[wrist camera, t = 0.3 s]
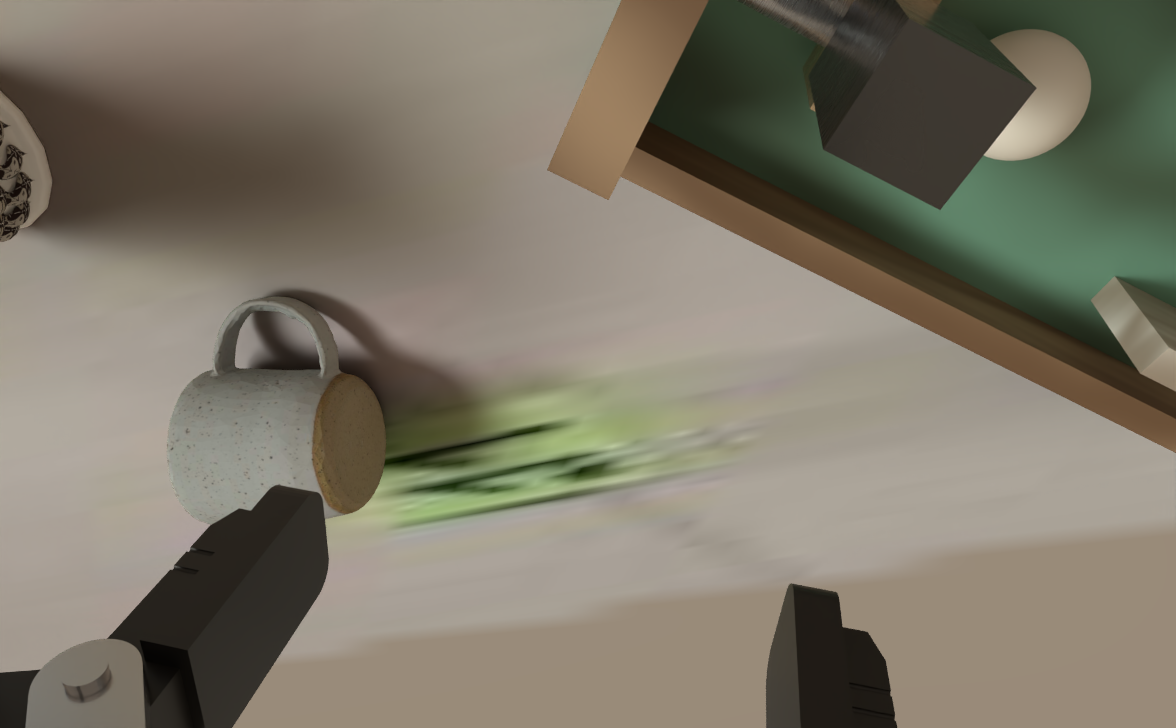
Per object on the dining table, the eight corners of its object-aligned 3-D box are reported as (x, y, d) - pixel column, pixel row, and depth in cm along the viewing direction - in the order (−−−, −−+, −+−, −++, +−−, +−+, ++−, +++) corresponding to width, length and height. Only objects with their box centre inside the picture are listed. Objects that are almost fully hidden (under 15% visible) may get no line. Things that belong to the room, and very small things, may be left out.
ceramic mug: (408, 454, 45) (351, 558, 38) (275, 455, 46) (199, 555, 40) (350, 282, 39) (272, 370, 33) (201, 291, 41) (100, 376, 35)
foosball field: (811, -397, 23) (839, -497, 15) (1576, 59, 26) (1917, 166, 18) (585, 108, 32) (532, 203, 25) (1169, 403, 35) (1284, 570, 28)
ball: (992, -6, 26) (1026, 21, 23) (1096, 51, 27) (1143, 85, 24) (914, 105, 29) (935, 143, 25) (1010, 156, 29) (1043, 200, 26)
